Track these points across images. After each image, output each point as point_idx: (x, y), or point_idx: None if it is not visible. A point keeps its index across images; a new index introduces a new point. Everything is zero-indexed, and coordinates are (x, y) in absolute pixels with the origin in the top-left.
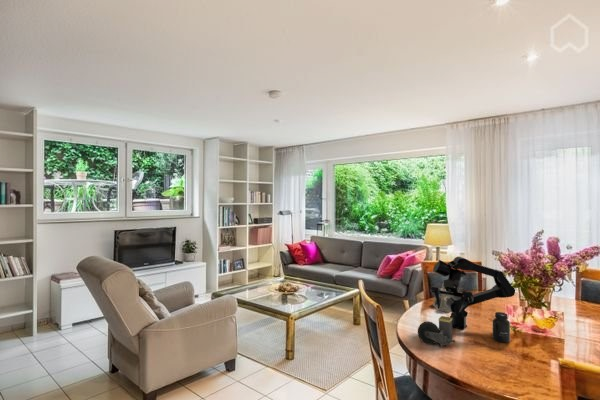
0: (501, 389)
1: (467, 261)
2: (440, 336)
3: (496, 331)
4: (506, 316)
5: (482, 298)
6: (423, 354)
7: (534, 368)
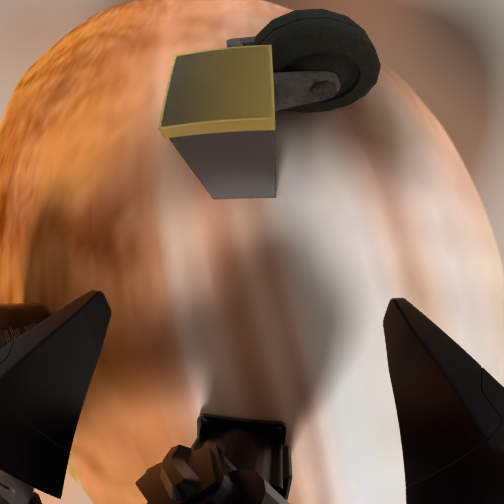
0: (89, 22)
1: None
2: None
3: (13, 308)
4: None
5: None
6: None
7: (4, 151)
